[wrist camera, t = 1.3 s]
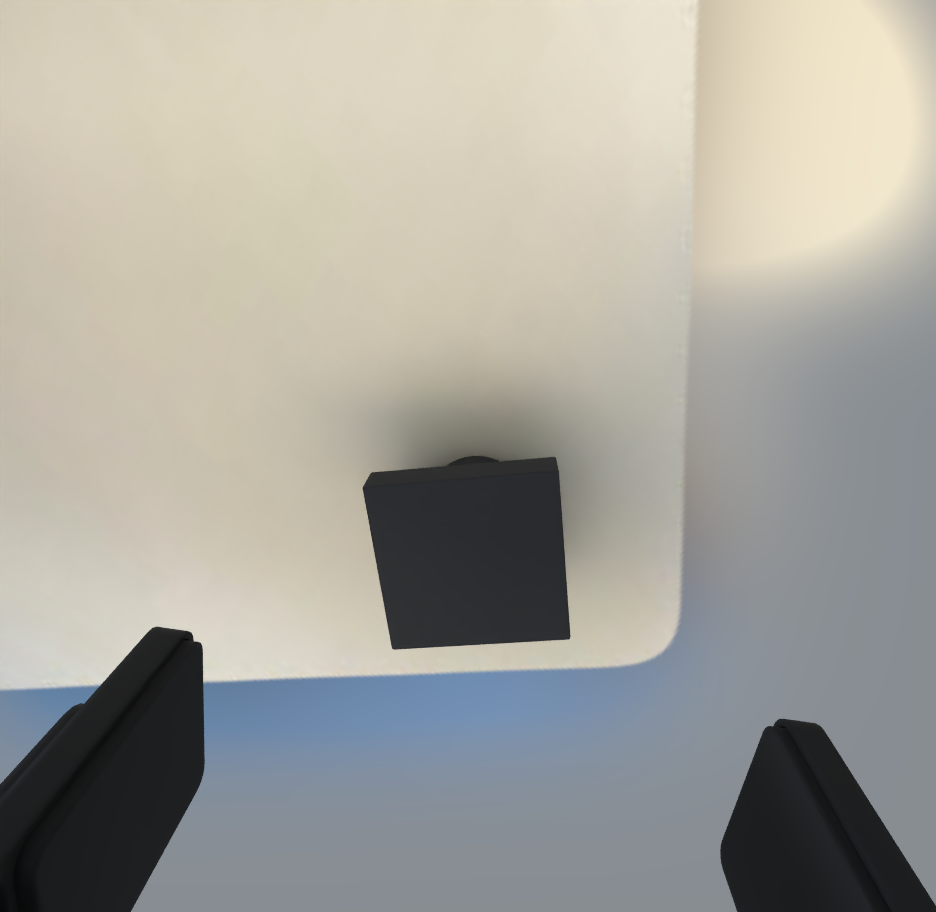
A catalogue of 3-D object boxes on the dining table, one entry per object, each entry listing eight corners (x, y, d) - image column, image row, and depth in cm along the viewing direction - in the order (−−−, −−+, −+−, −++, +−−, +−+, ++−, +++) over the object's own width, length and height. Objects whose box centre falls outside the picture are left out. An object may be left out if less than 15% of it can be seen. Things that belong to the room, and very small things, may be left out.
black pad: (548, 421, 27) (558, 470, 22) (558, 562, 30) (570, 640, 24) (391, 435, 28) (361, 487, 22) (413, 572, 30) (391, 650, 25)
